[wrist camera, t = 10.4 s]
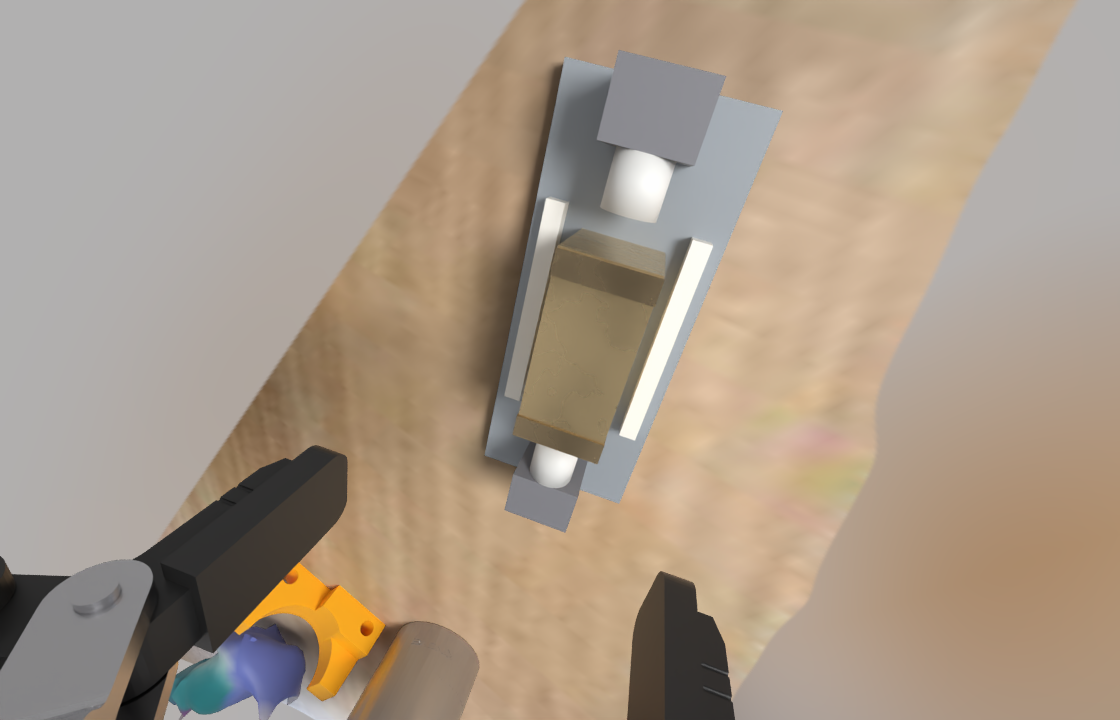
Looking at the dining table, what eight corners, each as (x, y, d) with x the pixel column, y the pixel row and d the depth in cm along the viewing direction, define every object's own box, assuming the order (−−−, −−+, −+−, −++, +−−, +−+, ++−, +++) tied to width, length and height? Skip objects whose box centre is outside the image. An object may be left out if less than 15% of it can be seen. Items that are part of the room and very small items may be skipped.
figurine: (243, 644, 53) (168, 728, 45) (221, 582, 48) (132, 663, 40) (334, 677, 51) (272, 771, 43) (321, 615, 46) (248, 708, 38)
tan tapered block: (581, 228, 22) (556, 244, 17) (666, 252, 22) (665, 277, 17) (541, 386, 27) (512, 435, 22) (610, 409, 26) (597, 465, 21)
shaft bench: (620, 493, 30) (612, 550, 25) (489, 447, 31) (459, 494, 27) (777, 113, 19) (811, 96, 15) (569, 61, 20) (541, 30, 16)
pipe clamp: (386, 623, 44) (344, 691, 38) (365, 634, 46) (321, 701, 40) (299, 547, 42) (241, 607, 36) (280, 562, 44) (222, 621, 38)
